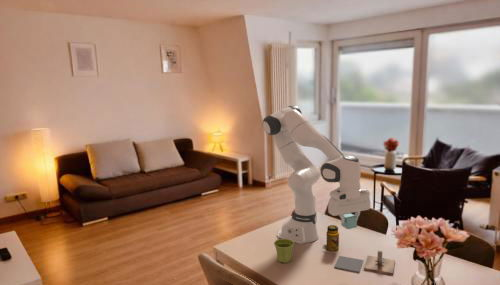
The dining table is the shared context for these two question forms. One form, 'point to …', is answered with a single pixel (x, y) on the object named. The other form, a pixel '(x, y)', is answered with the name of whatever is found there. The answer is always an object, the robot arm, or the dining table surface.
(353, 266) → the mat
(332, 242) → the condiment
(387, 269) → the post
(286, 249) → the plant pot
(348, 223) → the teal cube
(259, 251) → the dining table surface
